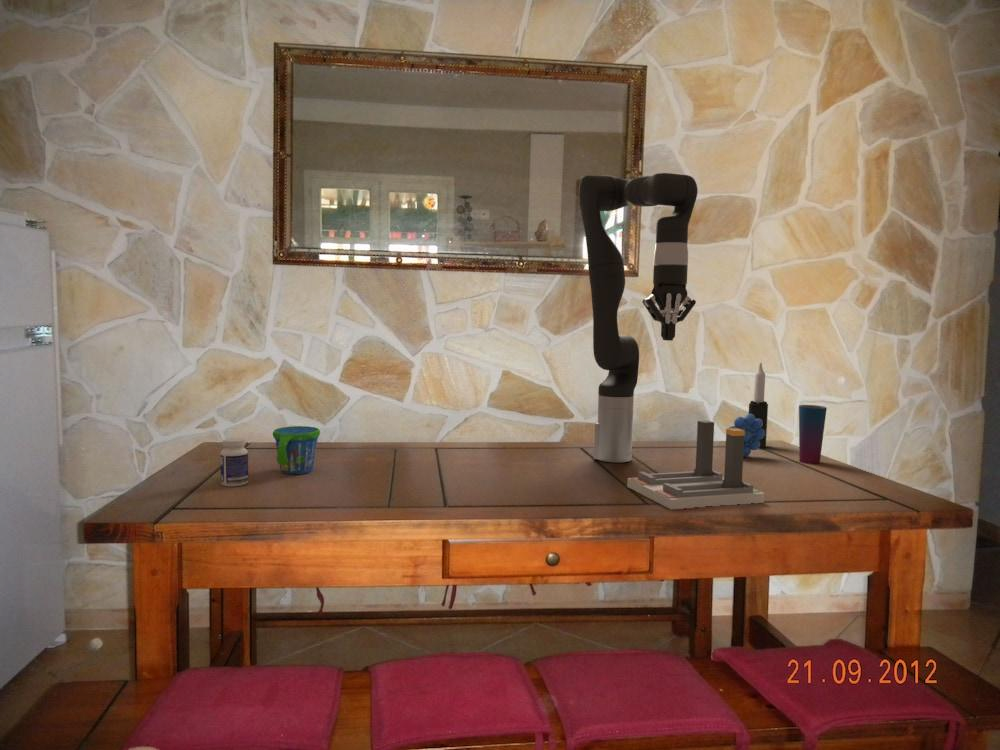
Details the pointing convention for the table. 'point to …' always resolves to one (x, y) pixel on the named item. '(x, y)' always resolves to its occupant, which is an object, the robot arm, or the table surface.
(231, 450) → the pill bottle
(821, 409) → the cup
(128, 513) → the table surface
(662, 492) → the panel
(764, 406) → the candle
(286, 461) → the snack cup
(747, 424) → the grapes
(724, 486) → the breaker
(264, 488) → the table surface
